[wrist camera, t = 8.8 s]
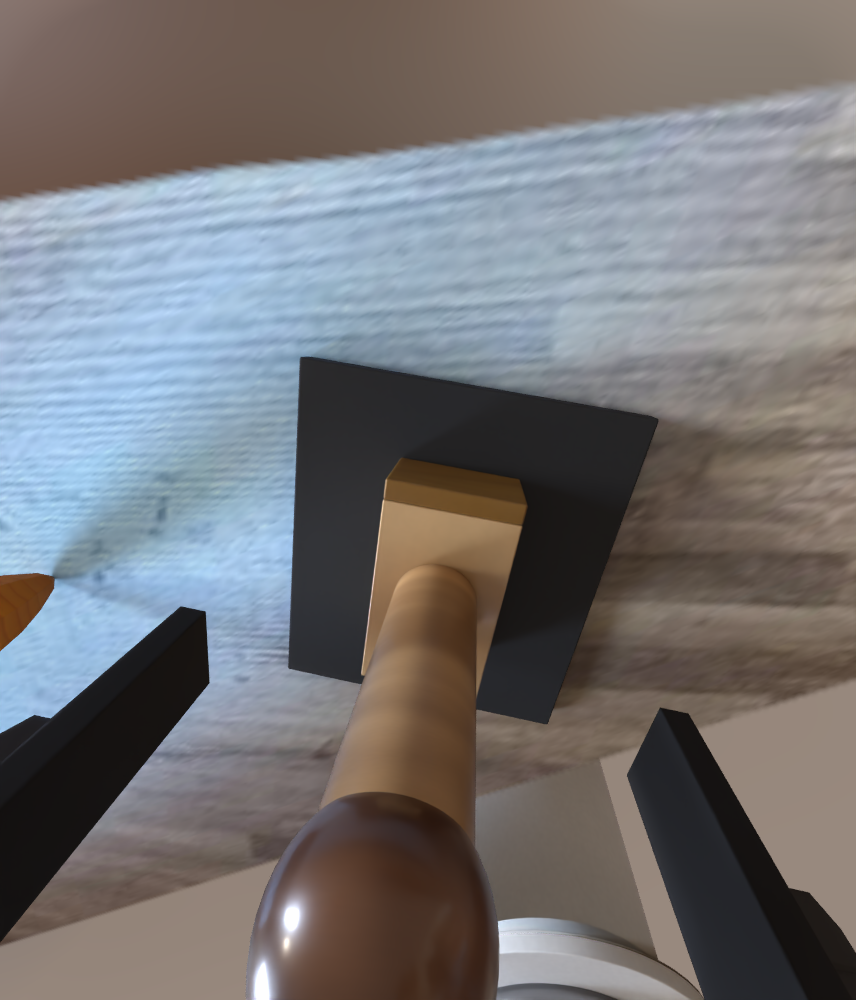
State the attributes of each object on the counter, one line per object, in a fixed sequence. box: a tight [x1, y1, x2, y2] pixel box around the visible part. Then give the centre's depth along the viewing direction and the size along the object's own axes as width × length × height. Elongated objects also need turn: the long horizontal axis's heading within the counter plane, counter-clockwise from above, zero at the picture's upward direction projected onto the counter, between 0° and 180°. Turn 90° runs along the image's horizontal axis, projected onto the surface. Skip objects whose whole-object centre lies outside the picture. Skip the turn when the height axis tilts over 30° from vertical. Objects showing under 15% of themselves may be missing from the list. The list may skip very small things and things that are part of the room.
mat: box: [288, 357, 658, 724], centre depth 19 cm, size 16×14×1 cm
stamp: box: [246, 458, 528, 1000], centre depth 12 cm, size 9×5×14 cm, turn 171°
